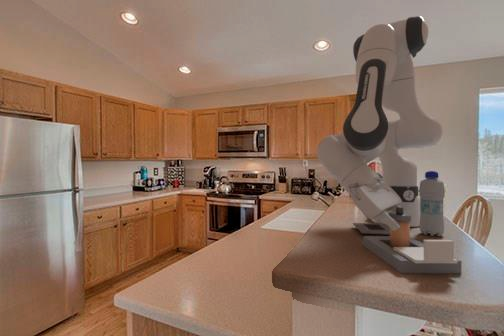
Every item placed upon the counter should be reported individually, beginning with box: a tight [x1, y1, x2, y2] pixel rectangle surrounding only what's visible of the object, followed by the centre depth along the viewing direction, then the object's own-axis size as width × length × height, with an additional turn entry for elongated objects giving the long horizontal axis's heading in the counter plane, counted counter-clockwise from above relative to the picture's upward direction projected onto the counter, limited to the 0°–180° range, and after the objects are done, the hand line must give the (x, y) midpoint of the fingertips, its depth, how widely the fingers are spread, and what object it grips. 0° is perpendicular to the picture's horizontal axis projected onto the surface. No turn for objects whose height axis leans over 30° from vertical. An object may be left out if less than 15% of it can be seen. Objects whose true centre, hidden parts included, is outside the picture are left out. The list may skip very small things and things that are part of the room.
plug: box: [389, 207, 411, 249], centre depth 61 cm, size 5×5×12 cm
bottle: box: [418, 170, 446, 237], centre depth 79 cm, size 7×7×20 cm
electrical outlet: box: [352, 222, 390, 236], centre depth 81 cm, size 13×10×2 cm
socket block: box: [362, 235, 462, 274], centre depth 59 cm, size 18×12×2 cm, turn 179°
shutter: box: [394, 239, 457, 263], centre depth 52 cm, size 9×8×5 cm
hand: (402, 225), depth 61 cm, fingers open, 8 cm apart
